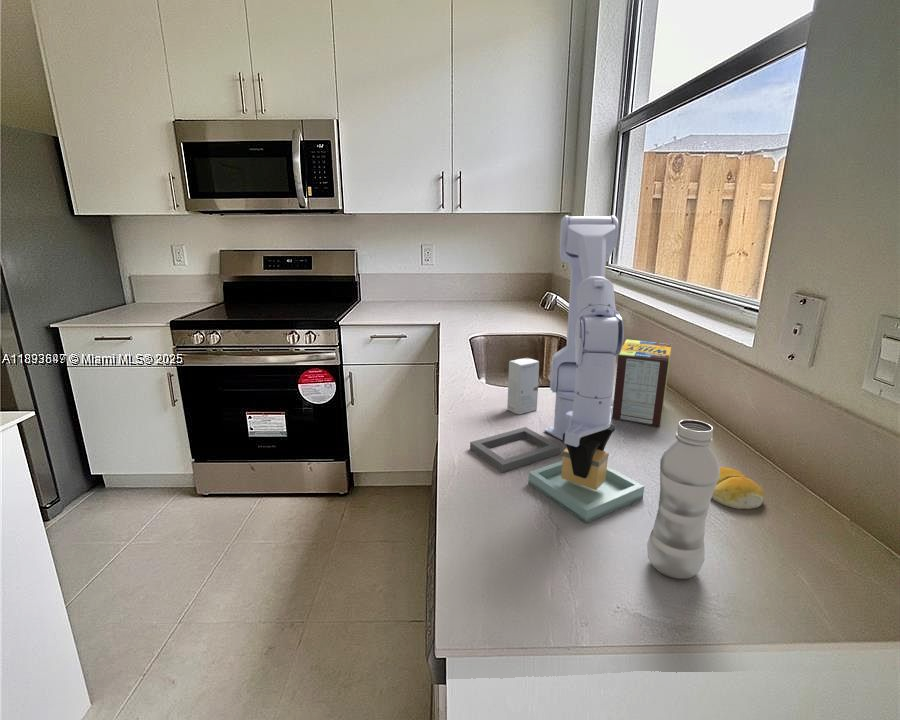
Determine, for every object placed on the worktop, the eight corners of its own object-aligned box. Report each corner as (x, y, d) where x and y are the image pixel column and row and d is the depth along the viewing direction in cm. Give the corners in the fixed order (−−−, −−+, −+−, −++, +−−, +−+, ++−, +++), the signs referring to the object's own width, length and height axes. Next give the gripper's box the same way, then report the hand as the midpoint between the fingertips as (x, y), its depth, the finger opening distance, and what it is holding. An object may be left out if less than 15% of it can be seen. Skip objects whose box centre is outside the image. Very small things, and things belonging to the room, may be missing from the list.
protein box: (663, 404, 116) (672, 343, 112) (660, 427, 103) (669, 359, 98) (619, 397, 120) (625, 338, 116) (610, 419, 107) (617, 353, 103)
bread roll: (732, 479, 82) (736, 458, 81) (772, 509, 74) (777, 486, 73) (688, 482, 81) (691, 461, 80) (723, 512, 73) (727, 489, 72)
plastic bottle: (635, 552, 64) (653, 415, 58) (683, 550, 64) (706, 413, 59) (660, 588, 57) (683, 438, 52) (712, 584, 58) (741, 436, 52)
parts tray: (582, 464, 87) (583, 453, 86) (642, 498, 76) (644, 486, 76) (528, 483, 80) (529, 472, 80) (585, 523, 70) (587, 510, 69)
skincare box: (518, 415, 109) (520, 365, 106) (506, 409, 113) (507, 360, 109) (538, 410, 112) (540, 361, 109) (525, 404, 116) (527, 356, 112)
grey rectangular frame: (525, 433, 100) (525, 426, 99) (560, 453, 91) (561, 446, 91) (470, 449, 93) (470, 442, 92) (502, 472, 84) (502, 464, 84)
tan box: (571, 468, 81) (573, 442, 80) (606, 479, 78) (608, 452, 76) (560, 478, 78) (562, 450, 77) (596, 490, 75) (599, 462, 73)
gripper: (587, 375, 81) (580, 447, 85) (548, 399, 70) (543, 480, 74) (628, 384, 77) (619, 458, 81) (594, 410, 66) (586, 495, 70)
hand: (585, 470), depth 77 cm, fingers closed on tan box, 4 cm apart
